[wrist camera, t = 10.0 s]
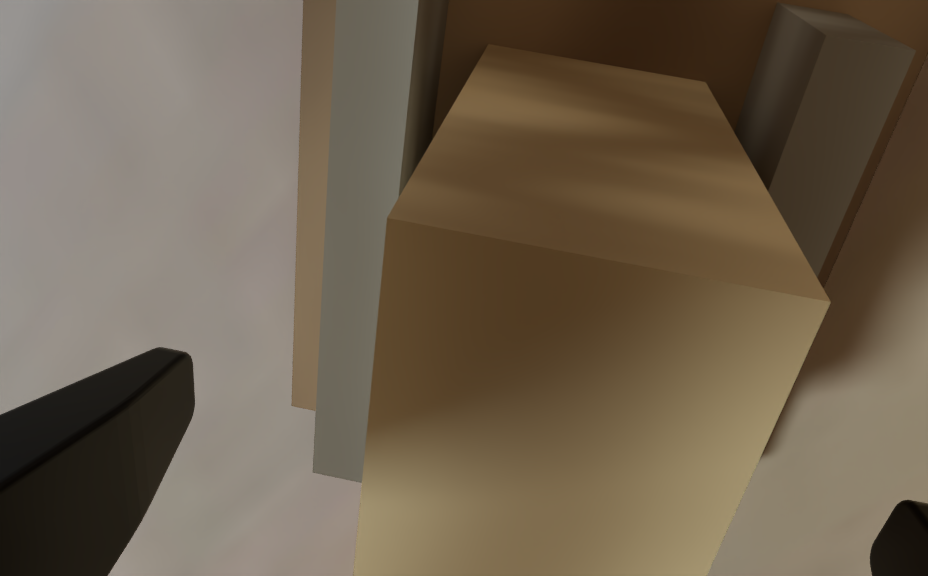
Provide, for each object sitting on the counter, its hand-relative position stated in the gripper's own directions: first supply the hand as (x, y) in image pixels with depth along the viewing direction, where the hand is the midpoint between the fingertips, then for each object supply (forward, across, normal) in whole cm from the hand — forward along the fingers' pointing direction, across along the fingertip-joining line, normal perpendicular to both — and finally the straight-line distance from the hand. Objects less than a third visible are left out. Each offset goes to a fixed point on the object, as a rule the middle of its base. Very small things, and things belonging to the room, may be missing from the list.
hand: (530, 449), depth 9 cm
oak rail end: (+7, 0, 0) cm, 7 cm away
